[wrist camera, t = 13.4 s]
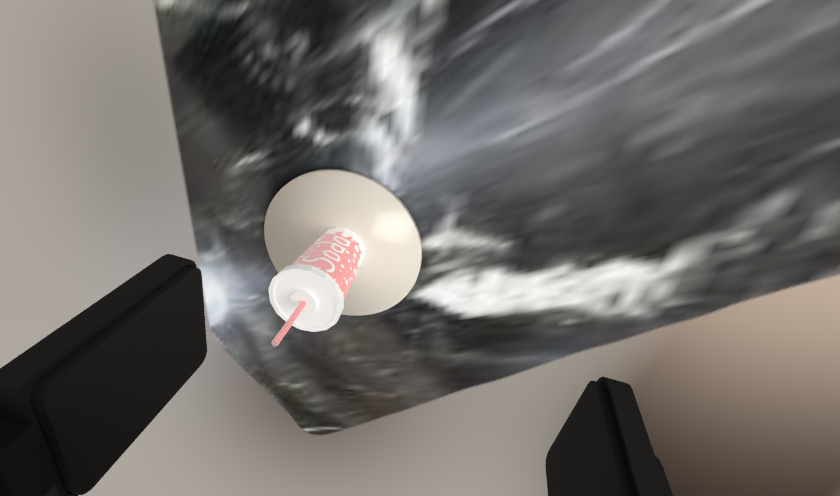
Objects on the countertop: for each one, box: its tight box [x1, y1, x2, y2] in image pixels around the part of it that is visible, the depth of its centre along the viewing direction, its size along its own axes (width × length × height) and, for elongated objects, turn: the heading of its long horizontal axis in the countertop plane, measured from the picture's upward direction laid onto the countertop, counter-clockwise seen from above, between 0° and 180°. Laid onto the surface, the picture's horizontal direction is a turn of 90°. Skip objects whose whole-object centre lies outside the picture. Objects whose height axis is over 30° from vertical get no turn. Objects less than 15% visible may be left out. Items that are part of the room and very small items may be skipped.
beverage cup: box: [269, 227, 365, 346], centre depth 35 cm, size 6×6×14 cm
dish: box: [264, 168, 422, 315], centre depth 42 cm, size 16×16×1 cm
